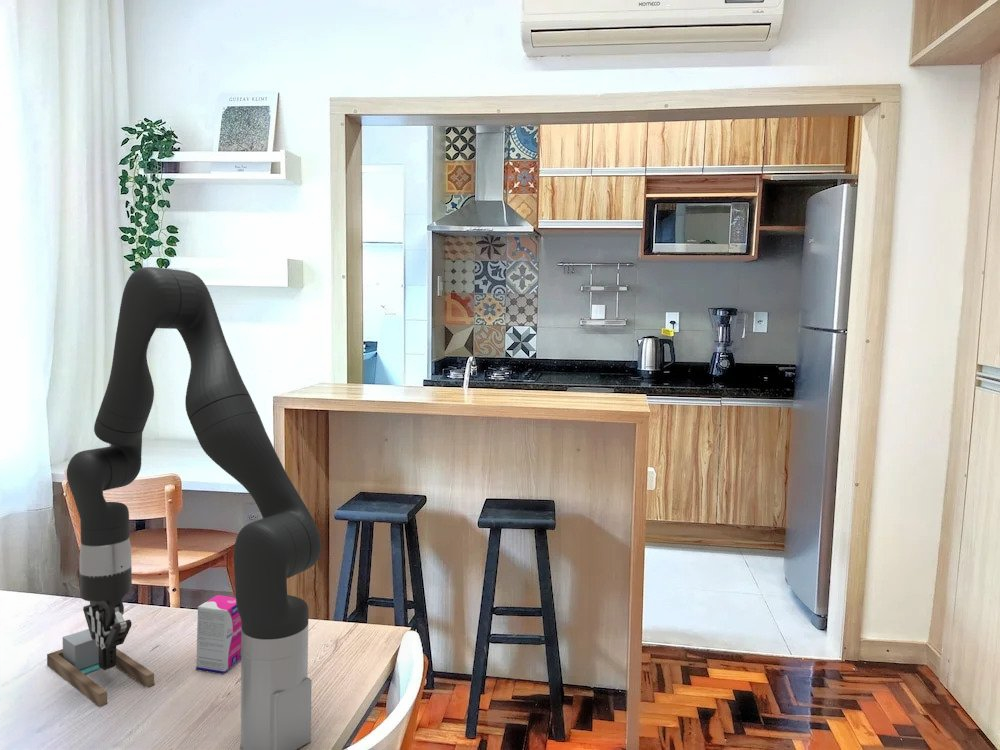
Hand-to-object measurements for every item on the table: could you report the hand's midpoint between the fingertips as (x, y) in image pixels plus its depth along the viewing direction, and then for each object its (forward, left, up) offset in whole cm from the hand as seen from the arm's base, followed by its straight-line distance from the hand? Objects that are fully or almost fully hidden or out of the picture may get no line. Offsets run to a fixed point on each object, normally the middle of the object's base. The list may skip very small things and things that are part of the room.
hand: (107, 667), depth 115 cm
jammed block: (+8, 0, -2) cm, 9 cm away
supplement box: (-10, -15, -2) cm, 18 cm away
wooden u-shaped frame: (+2, 0, -2) cm, 3 cm away
